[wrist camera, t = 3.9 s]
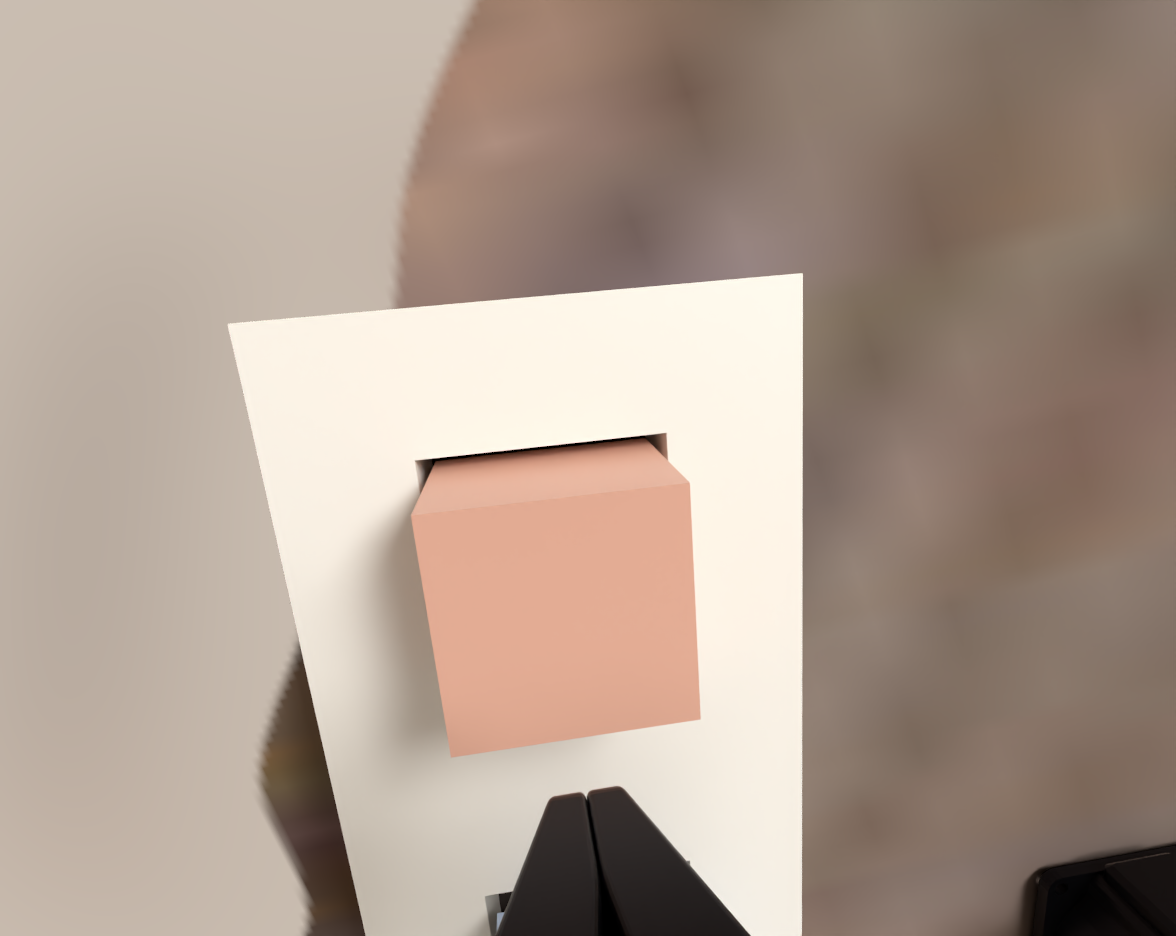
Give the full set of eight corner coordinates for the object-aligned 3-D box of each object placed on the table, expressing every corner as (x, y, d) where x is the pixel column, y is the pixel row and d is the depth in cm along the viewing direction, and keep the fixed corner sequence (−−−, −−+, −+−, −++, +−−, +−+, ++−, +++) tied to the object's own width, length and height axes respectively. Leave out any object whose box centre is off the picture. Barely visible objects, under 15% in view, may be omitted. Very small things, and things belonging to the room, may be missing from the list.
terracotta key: (657, 624, 17) (700, 719, 13) (464, 650, 16) (450, 757, 13) (644, 438, 16) (689, 482, 12) (435, 461, 15) (410, 515, 11)
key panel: (770, 987, 23) (801, 1068, 20) (424, 1054, 21) (413, 1148, 19) (759, 277, 16) (802, 273, 14) (271, 320, 15) (227, 323, 13)
